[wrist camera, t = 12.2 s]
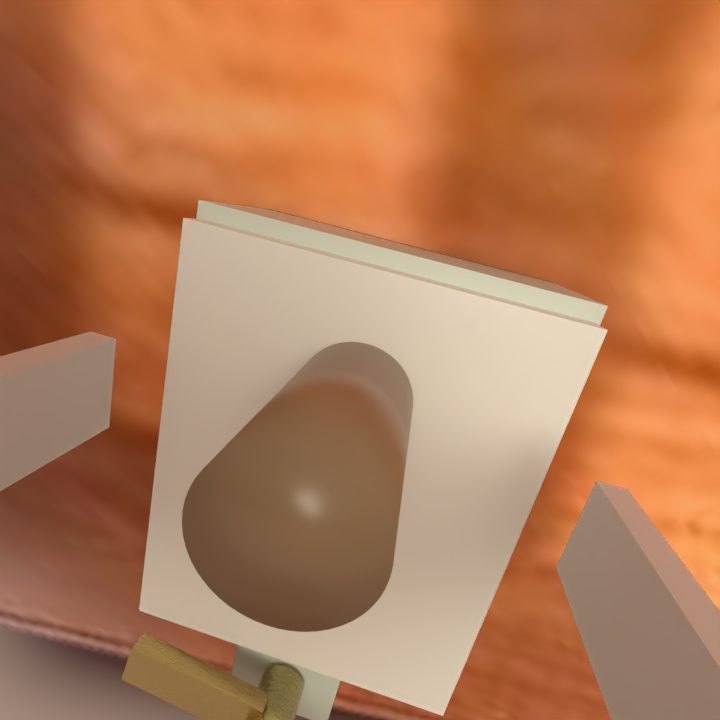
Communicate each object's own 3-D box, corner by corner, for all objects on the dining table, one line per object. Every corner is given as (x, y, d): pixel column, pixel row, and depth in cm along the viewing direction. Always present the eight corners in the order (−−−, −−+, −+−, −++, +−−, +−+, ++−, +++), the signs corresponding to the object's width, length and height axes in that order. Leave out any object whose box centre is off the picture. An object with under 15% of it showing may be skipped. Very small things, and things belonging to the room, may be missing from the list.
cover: (155, 589, 21) (-28, 823, 12) (202, 219, 16) (-57, 204, 7) (442, 687, 19) (447, 1015, 11) (594, 322, 14) (802, 440, 6)
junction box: (210, 560, 29) (142, 659, 22) (270, 209, 22) (198, 199, 15) (421, 630, 28) (417, 757, 21) (552, 282, 21) (607, 305, 14)
